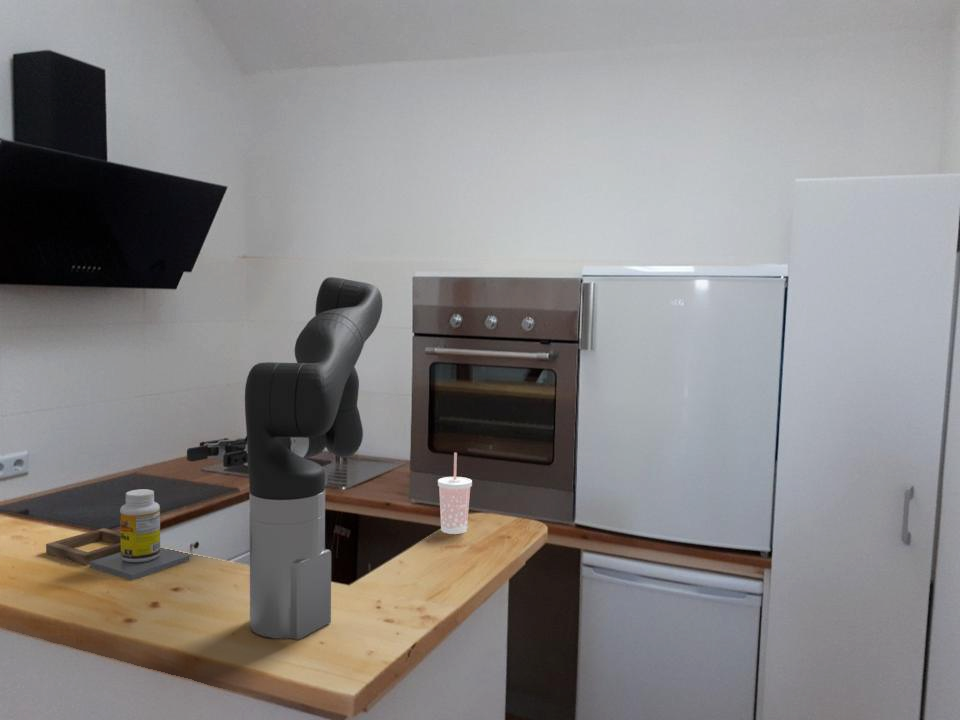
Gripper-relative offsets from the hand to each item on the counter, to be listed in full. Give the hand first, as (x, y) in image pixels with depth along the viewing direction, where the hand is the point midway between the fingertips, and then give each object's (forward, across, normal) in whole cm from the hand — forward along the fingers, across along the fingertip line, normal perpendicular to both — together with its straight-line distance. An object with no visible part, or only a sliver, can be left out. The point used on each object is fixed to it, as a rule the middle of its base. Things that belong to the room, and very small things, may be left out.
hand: (206, 458), depth 128 cm
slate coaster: (+11, -2, +15) cm, 19 cm away
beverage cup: (-30, +30, +14) cm, 44 cm away
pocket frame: (+11, -13, +15) cm, 22 cm away
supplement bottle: (+11, -2, +14) cm, 18 cm away
